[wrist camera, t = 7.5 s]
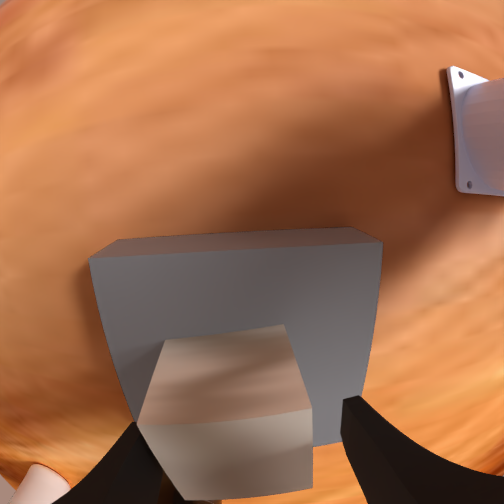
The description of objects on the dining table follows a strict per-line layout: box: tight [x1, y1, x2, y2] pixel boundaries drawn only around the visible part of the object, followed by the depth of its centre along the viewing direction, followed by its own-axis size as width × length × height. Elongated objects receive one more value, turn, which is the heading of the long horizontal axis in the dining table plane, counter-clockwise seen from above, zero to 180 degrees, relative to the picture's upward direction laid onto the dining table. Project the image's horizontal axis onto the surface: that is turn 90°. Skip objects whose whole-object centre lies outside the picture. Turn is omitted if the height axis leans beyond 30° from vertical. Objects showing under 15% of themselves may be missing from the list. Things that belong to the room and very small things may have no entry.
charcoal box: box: [88, 227, 383, 447], centre depth 15 cm, size 12×12×4 cm
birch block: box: [137, 324, 313, 500], centre depth 10 cm, size 5×5×5 cm
